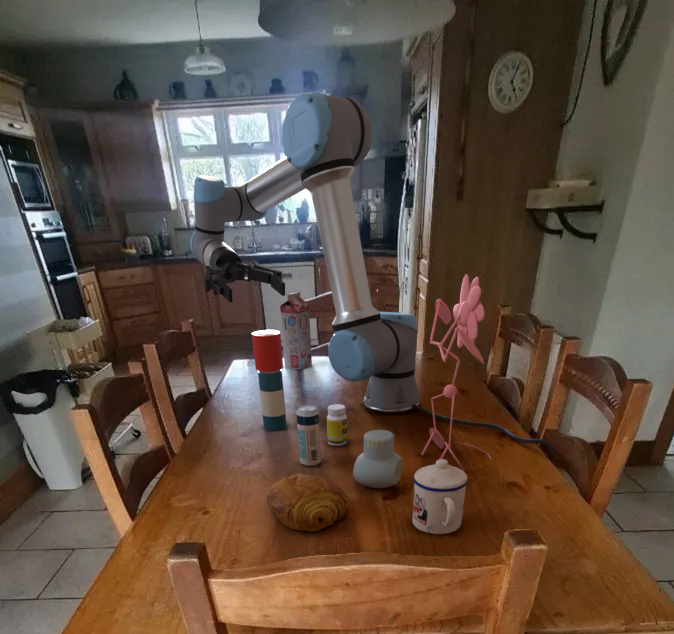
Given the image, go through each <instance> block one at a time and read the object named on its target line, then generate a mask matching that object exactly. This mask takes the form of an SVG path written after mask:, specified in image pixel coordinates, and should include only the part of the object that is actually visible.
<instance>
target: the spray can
mask: <svg viewBox="0 0 674 634" xmlns="http://www.w3.org/2000/svg"><path fill="white" fill-rule="evenodd" d="M257 379H258V387H259V390H258V391H259V397H260V405H261V414H262V424H263V429H264V430H267V431H270V432H271V431H281V430H284V429H286V428H287V427H288V425H287V416H286V415H287V414H286V401H285V390H284V380H283V369H281V370H278V371H273V372H261V371H257Z"/></svg>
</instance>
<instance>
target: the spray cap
mask: <svg viewBox="0 0 674 634" xmlns="http://www.w3.org/2000/svg"><path fill="white" fill-rule="evenodd" d="M281 335H282V334H281V331H279V330H276V329H262V330H256V331H253V332H251V339H252V341H251V342H252V348H253V358H254V366H255V370H256V371H257V372H258V371H261V372H273V371H278V370H283V369H284V360H283V359H284V358H283V349H282V347H283V346H282V337H281Z"/></svg>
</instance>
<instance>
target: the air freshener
mask: <svg viewBox="0 0 674 634" xmlns="http://www.w3.org/2000/svg"><path fill="white" fill-rule="evenodd" d="M403 469H404V459H403V458H402V457H401V456H400V455H399V454H397V453H396V452H395V434H394V433H393V432H391V431H390V430H386V429H373V430H369V431H367V432H365V434H364V435H363V452H362V453H361V454H359V455H358V456H357V458H356V460H355V462H354V466H353V470H352V475H353V478H354V480H355V481H357V482H358V483H359V484H360V485H362V486H364V487H368V488H371V489H385V488H389V487H392V486H394V485H397V483H398V482H399V481H400V478H401V476H402V474H403V473H402V472H403Z"/></svg>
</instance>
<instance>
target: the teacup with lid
mask: <svg viewBox="0 0 674 634" xmlns="http://www.w3.org/2000/svg"><path fill="white" fill-rule="evenodd" d="M413 482H414V486H413V502H412V516H411V517H412V519H411V521H412V524H413V527H415V528H416V529H417V530H419V531H421V532H424V533H427V534H431V535H445V534H451V533H454V532H455V531H457V530H459V528H460V527H461V525H462V522H463V521H462V520H463V512H464V505H465V504H464V503H465V496H466V488H467V485H468V483H469V478H468V475H467V473H466V472H465V470H464V471H463V470H462V469H461V468H460V467H457V466H453V465H451V464H449V461H448V460H447V459H444V458H443V459H440V458H439V459H437V460H436V461H435V463H433V464H430V465H425V466H423V467H420V468H419V469H417V471H415V473H414V475H413Z"/></svg>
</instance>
